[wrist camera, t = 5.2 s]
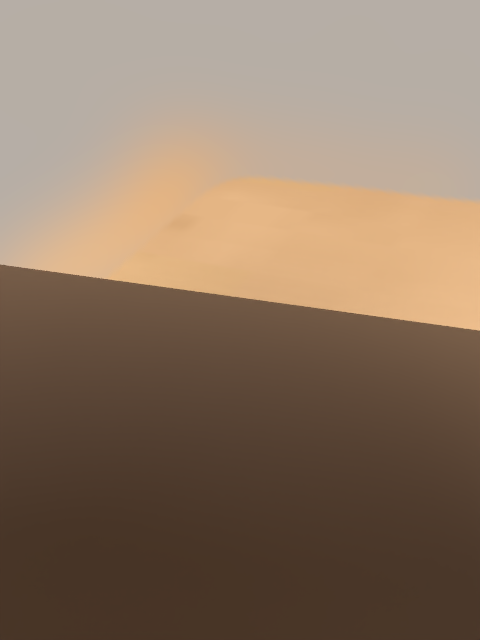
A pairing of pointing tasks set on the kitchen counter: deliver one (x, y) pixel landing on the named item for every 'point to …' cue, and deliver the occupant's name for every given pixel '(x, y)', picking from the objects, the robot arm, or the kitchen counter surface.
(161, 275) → the kitchen counter surface
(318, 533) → the walnut post
